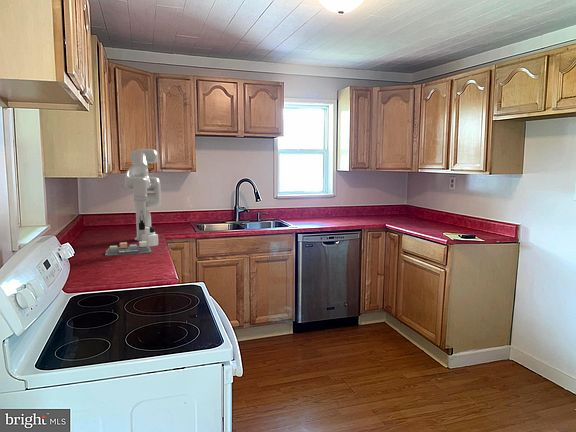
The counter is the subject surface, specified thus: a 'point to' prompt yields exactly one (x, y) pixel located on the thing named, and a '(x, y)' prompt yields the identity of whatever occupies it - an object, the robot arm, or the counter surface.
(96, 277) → the counter surface
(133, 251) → the keypad board
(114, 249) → the sage key
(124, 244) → the terracotta key
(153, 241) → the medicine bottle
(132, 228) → the counter surface
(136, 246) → the slate key
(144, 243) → the cream key
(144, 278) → the counter surface
